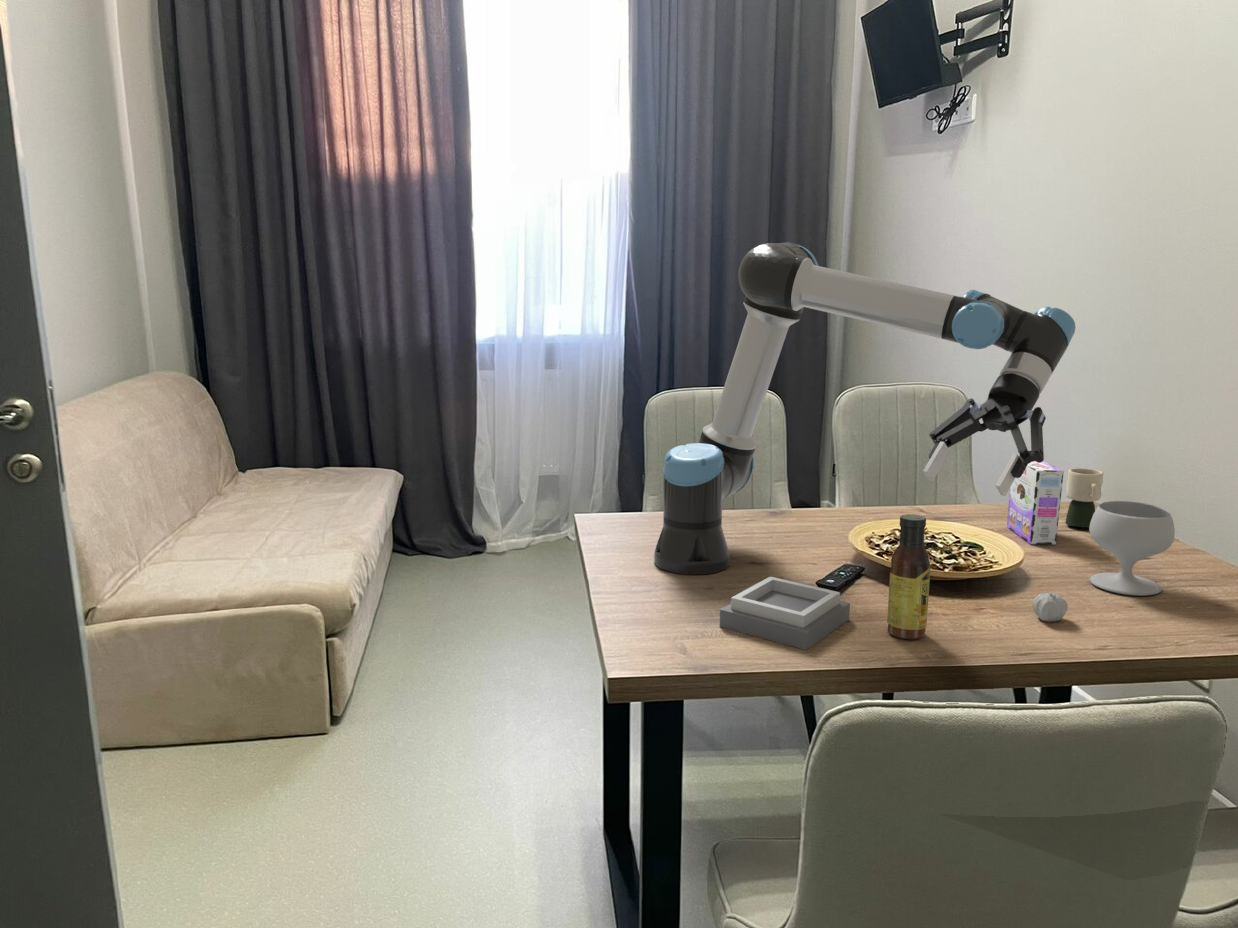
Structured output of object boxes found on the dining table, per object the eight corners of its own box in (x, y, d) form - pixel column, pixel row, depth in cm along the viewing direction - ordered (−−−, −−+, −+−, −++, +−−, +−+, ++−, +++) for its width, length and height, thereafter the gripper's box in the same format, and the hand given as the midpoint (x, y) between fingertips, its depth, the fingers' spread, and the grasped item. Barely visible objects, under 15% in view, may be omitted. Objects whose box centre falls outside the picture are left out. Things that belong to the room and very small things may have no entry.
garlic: (1064, 628, 161) (1067, 598, 160) (1029, 622, 164) (1032, 593, 163) (1067, 616, 166) (1070, 587, 165) (1033, 610, 169) (1036, 582, 168)
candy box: (1057, 545, 206) (1065, 470, 202) (1029, 545, 206) (1036, 470, 202) (1031, 527, 219) (1038, 456, 216) (1005, 526, 219) (1011, 456, 216)
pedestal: (719, 626, 162) (720, 598, 161) (766, 599, 174) (767, 572, 173) (806, 649, 153) (807, 620, 151) (849, 619, 165) (850, 591, 164)
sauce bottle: (927, 642, 155) (936, 524, 151) (887, 639, 156) (895, 521, 152) (923, 627, 162) (932, 513, 157) (885, 624, 163) (892, 511, 158)
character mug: (1106, 534, 214) (1113, 477, 211) (1074, 533, 214) (1080, 476, 211) (1085, 520, 224) (1091, 466, 222) (1054, 520, 225) (1059, 465, 222)
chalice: (1085, 569, 190) (1093, 496, 187) (1166, 580, 184) (1176, 504, 181) (1081, 591, 178) (1090, 513, 175) (1168, 604, 172) (1179, 523, 169)
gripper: (1097, 407, 159) (1041, 511, 153) (962, 391, 178) (908, 482, 173) (1084, 378, 155) (1025, 483, 149) (947, 365, 174) (891, 457, 168)
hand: (962, 483), depth 161 cm, fingers open, 13 cm apart
